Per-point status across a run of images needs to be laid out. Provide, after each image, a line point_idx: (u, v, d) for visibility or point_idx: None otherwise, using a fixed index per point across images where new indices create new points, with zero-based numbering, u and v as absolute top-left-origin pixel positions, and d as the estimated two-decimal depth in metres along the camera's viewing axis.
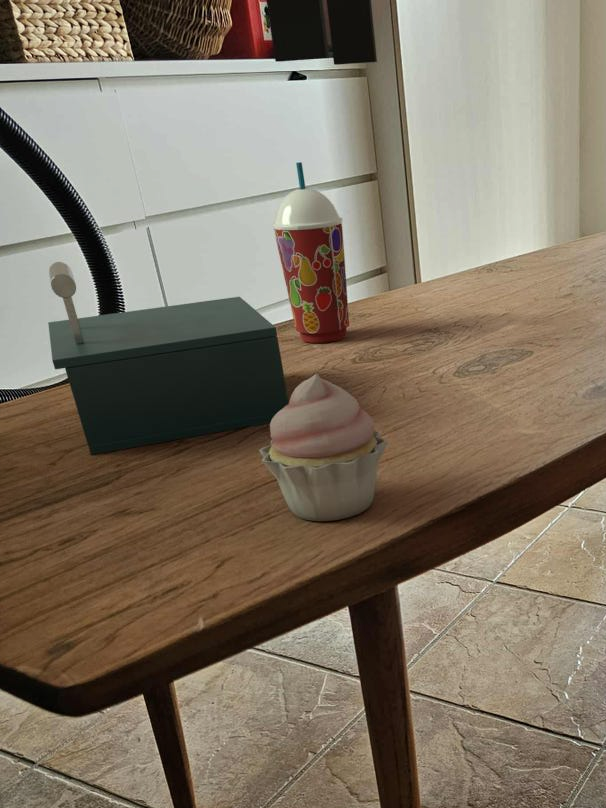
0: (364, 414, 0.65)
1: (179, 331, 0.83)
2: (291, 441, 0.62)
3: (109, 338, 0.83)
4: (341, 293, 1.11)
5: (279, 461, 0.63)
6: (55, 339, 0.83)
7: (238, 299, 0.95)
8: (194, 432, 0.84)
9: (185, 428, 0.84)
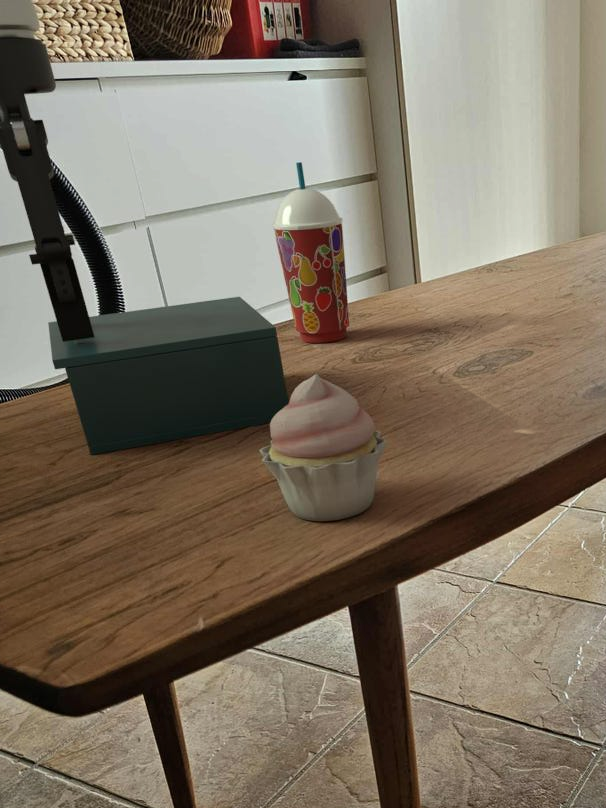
0: (364, 414, 0.65)
1: (179, 331, 0.83)
2: (291, 441, 0.62)
3: (109, 338, 0.83)
4: (341, 293, 1.11)
5: (279, 461, 0.63)
6: (55, 339, 0.83)
7: (238, 299, 0.95)
8: (194, 432, 0.84)
9: (185, 428, 0.84)
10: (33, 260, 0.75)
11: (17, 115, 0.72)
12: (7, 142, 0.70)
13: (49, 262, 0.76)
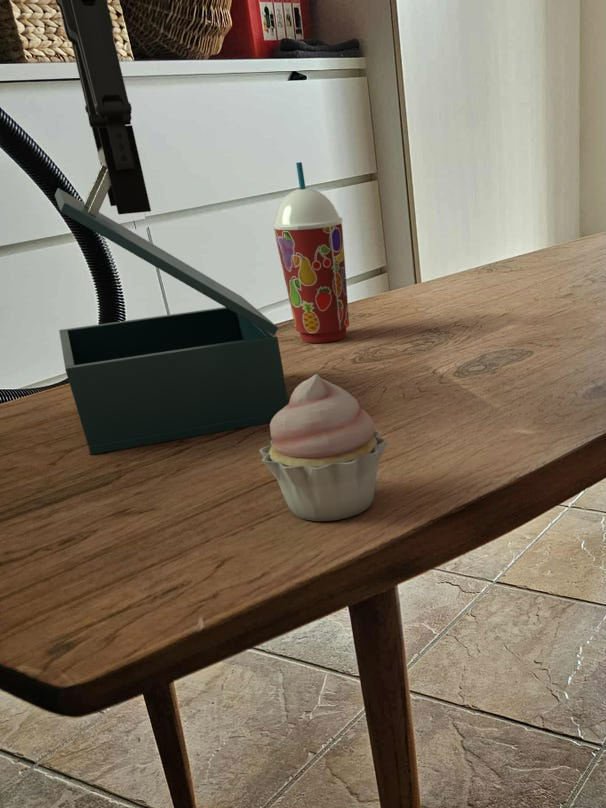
0: (364, 414, 0.65)
1: (188, 272, 0.82)
2: (291, 441, 0.62)
3: (121, 231, 0.79)
4: (341, 293, 1.11)
5: (279, 461, 0.63)
6: (66, 197, 0.79)
7: (241, 297, 0.95)
8: (194, 432, 0.84)
9: (185, 428, 0.84)
10: (92, 121, 0.72)
11: None
12: None
13: (108, 124, 0.73)
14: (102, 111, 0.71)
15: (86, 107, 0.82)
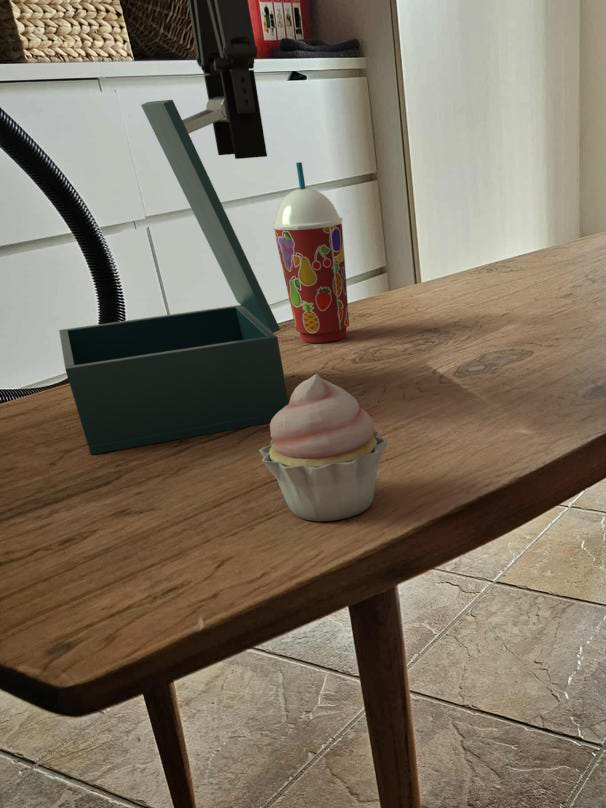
0: (364, 414, 0.65)
1: None
2: (291, 441, 0.62)
3: None
4: (341, 293, 1.11)
5: (279, 461, 0.63)
6: None
7: None
8: (194, 432, 0.84)
9: (185, 428, 0.84)
10: (218, 64, 0.74)
11: None
12: None
13: (233, 67, 0.74)
14: (230, 53, 0.73)
15: (198, 57, 0.84)
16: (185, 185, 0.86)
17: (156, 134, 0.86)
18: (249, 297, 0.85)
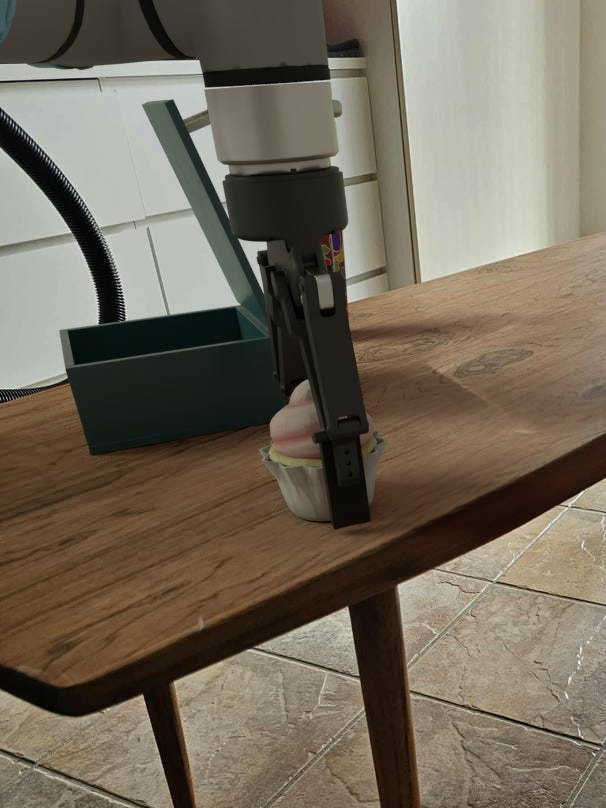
0: None
1: None
2: (291, 441, 0.62)
3: None
4: None
5: (279, 461, 0.63)
6: None
7: None
8: (194, 432, 0.84)
9: (185, 428, 0.84)
10: (318, 439, 0.59)
11: (312, 265, 0.56)
12: (308, 301, 0.54)
13: (337, 441, 0.59)
14: (336, 435, 0.57)
15: (275, 374, 0.69)
16: (185, 185, 0.86)
17: (157, 134, 0.86)
18: (249, 297, 0.85)
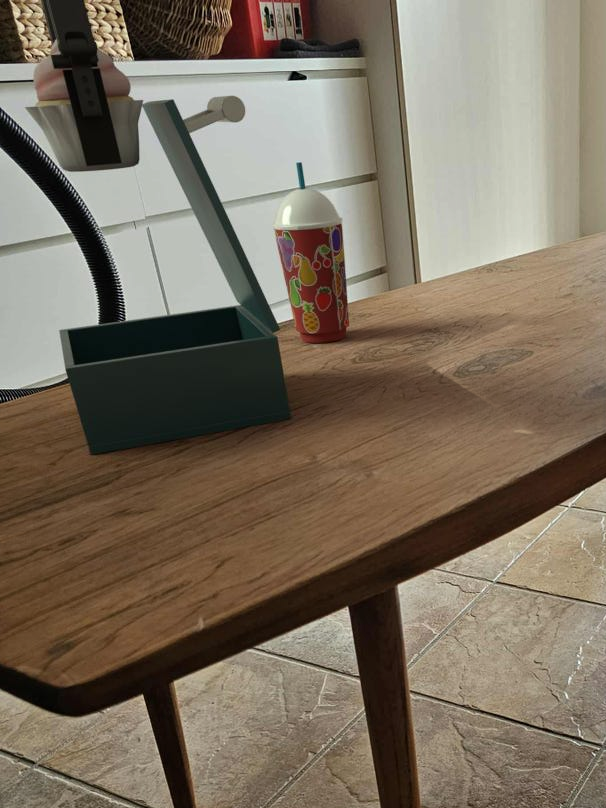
0: (118, 70, 0.73)
1: None
2: (46, 83, 0.71)
3: None
4: (341, 293, 1.11)
5: None
6: None
7: None
8: (194, 432, 0.84)
9: (185, 428, 0.84)
10: (55, 62, 0.67)
11: None
12: None
13: (73, 66, 0.67)
14: (65, 50, 0.66)
15: None
16: (185, 185, 0.86)
17: (157, 134, 0.86)
18: (249, 297, 0.85)
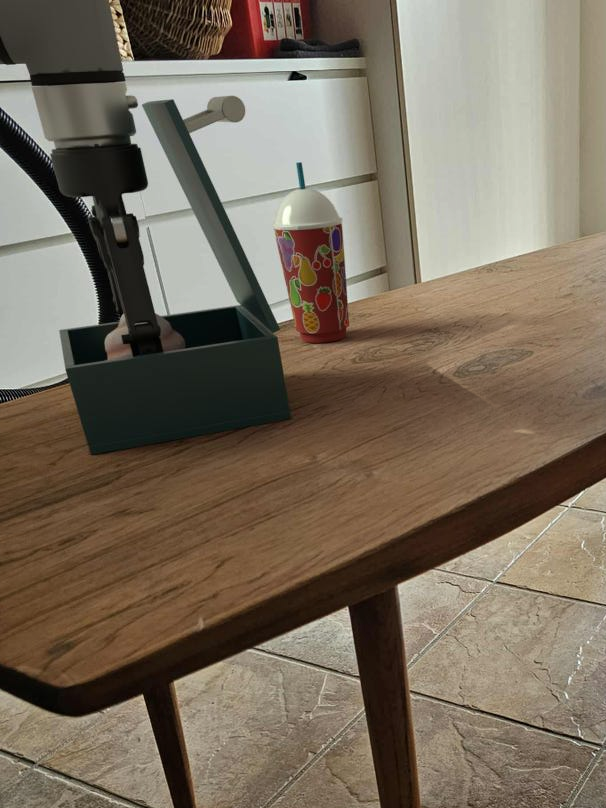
0: (175, 334, 0.87)
1: None
2: (116, 352, 0.84)
3: None
4: (341, 293, 1.11)
5: None
6: None
7: None
8: (194, 432, 0.84)
9: (185, 428, 0.84)
10: (124, 340, 0.80)
11: (115, 213, 0.78)
12: (107, 236, 0.76)
13: (139, 342, 0.80)
14: (134, 335, 0.78)
15: (114, 300, 0.91)
16: (185, 185, 0.86)
17: (157, 134, 0.86)
18: (249, 297, 0.85)
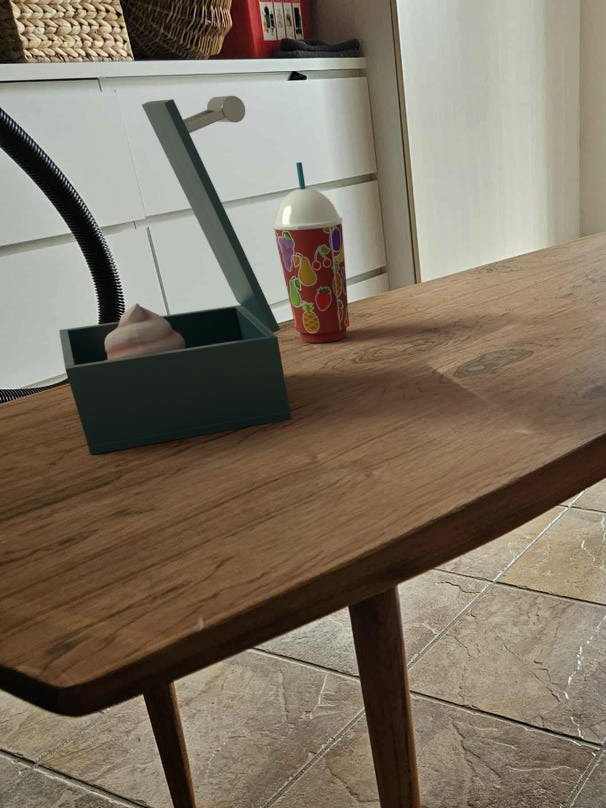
0: (175, 334, 0.87)
1: None
2: (116, 352, 0.84)
3: None
4: (341, 293, 1.11)
5: None
6: None
7: None
8: (194, 432, 0.84)
9: (185, 428, 0.84)
10: None
11: None
12: None
13: None
14: None
15: None
16: (185, 185, 0.86)
17: (157, 134, 0.86)
18: (249, 297, 0.85)
